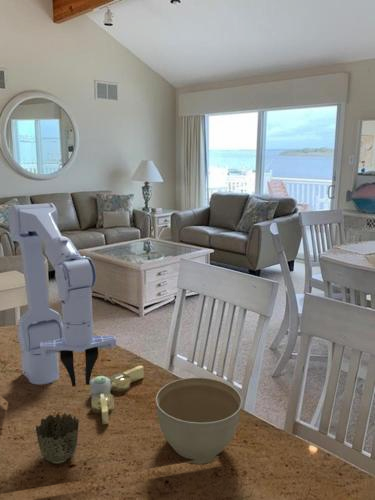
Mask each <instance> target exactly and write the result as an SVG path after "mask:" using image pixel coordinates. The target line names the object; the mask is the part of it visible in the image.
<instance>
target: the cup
mask: <svg viewBox="0 0 375 500" xmlns="http://www.w3.org/2000/svg"><path fill="white" fill-rule="evenodd" d="M79 423H80V421H79V418H76V415H74V416H73V417H72V415H71V414H70V413H68V414H67V413H63V414H62V415H60V413H57V414H56V415H55V416H54V415H52V414H48V415H47V416H46V417H45V418H41V420H40V425H35V432H36V437H37V442H38V447H39V450H40V453H41V455H42V456H43V458H44V459H45V460H47V461H48V462H51V463H53V464H62V463H64V462H66V461H68V460H69V458H71V456H73V454H74V453H75V451H76V449H77V444H78V438H79V436H78V435H79Z"/></svg>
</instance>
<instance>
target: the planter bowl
mask: <svg viewBox="0 0 375 500" xmlns="http://www.w3.org/2000/svg"><path fill="white" fill-rule="evenodd" d="M155 406H156V411H157V418H158V424H159V427H160V429H161V431H162V434H163V436H164V437H165V439H166V441H167V443H168V444H169V445H170V446H171V447H172V449H173V450H174V451H175V453H177V454H178V455H180V456H181V457H183V458H186V459H190V460H188V461H187V460H186V461H185V462H186V463H187V464H188V463H189V464H193V465H203V464H209V463H212V462H214V461H216V460H217V459H219V458H220V455H219V454H220V453H223V450H224V449H225V448H226V447H227V446H228V445H229V444H230V441H232V439H233V437H234V436H235V434H236V431H237V429H238V425H239V422H240V417H241V411H242V408H243V398H242V396H241V394H240V392H239V391H238V390H236V388H235V387H233V386H232V385H230V384H228V383H226V382H224V381H221V380H217V379H213V378H209V377H185V378H181V379H176V380H173V381H171V382H169V383H167V384H165V385H164V386H162V387H161V388H160V389H159V390H158V392H157V394H156V397H155Z"/></svg>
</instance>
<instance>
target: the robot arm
mask: <svg viewBox="0 0 375 500" xmlns="http://www.w3.org/2000/svg"><path fill="white" fill-rule="evenodd" d="M7 217H8V218H7V219H8V227H9V234H10V236H11V241H13V242H17V243H18V246H19V248H20V254H21V262H22V269H23V276H24V277H23V278H24V286H25V293H26V300H27V301H26V302H27V311H26V312H25V313H24V314H23V315H22V316H21V317H19V319H18V322H17V339H18V345H19V347H20V350H22V351H21V366H22V375H23V376H25V377H26V378H27V380H28V381H29V382H30V383H31V384H32V385H33V384H34V385H47V384H50V383H54V382H55V381H57V380H58V379H59V378H60V365H59V363H60V362H59V357H60V361H61V363H62V364H63V366H64V367H65V369H66V371H67V373H68V376H69V378H70V381H71V386H72V387H73V388H74V387H76V386H77V385H76V372H75V367H74V366H75V365H74V362H75V361H74V353H82V352H84V355H85V357H84V358H85V359H84V360H85V372H84V373H85V374H84V378H85V385H86V386H87V385H88V386H89V385H91V383H90V382H91V375H92V372H93V369H94V367H95V364H96V362H97V360H98V358H99V349H104V348H105V349H106V348H110V349H116V348H117V339H116V336H115V335H98V334H96V335H95V334H94V321H93V302H92V301H93V299H92V298H93V297H92V295H93V294H92V287H94V286H95V285H96V283H97V271H96V270H97V269H96V266H95V264H94V262H93V260H92V258H90V257H87V256H85V255H83V256H82V255H81V254H80V252H79V251H78V250H77V248H76V246H75V245H74V243H73V241H72V240H71V239H70V238H68V237H66V236H63V235H62V233H61V231H60V229H59V227H58V225H59V224H58V223H59V214H58V209H57V207H56V206H55V205H54V203H53V202H47V203H46V202H45V203H34V204H33V203H32V204H17V205H16V204H12V205H11V206H10V207H9V209H8V216H7ZM43 243H44V244H45V248H44V254H45V256H46V257H47V259H48V261H49V263H50V264H51V266H52V268H53V269H54V271H55V273H54V278H55V282H56V286H57V289H58V290H57V291H58V298H59V299H61V315H60V313H59V312H58V311H56V310H54V309H52V308H50V304H49V303H50V302H49V296H48V286H47V280H46V272H45V263H44V256H43V248H42V244H43Z"/></svg>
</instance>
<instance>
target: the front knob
mask: <svg viewBox="0 0 375 500" xmlns="http://www.w3.org/2000/svg"><path fill="white" fill-rule="evenodd" d="M90 398H91V397H90ZM90 402H91V411H92V412H93V413H95V414H98V415H100V416H101V417H100V418H101V421H102V425H109V424H110V423H109V413H110V412H112V411H113V410H114V408H115V398H114V395H113V394H112V393H111V394H109V393H99V394H96V395H94V396H93V397H92V398H91V399H90Z"/></svg>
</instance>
